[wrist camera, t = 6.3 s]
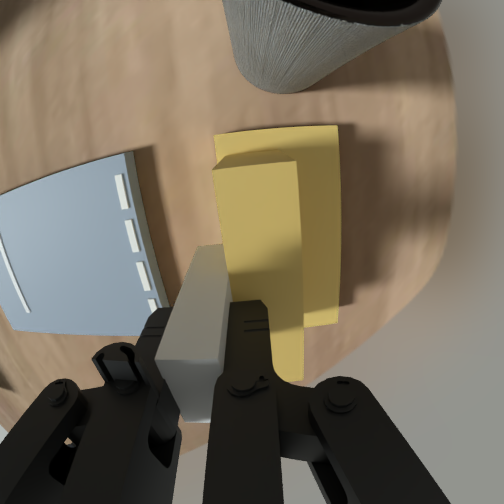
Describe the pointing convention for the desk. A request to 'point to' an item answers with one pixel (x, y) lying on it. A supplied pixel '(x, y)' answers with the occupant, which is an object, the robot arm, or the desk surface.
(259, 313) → the robot arm
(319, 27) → the gray cylinder
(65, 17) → the desk surface
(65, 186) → the ticket
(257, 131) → the yellow stepped block
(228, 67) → the desk surface
